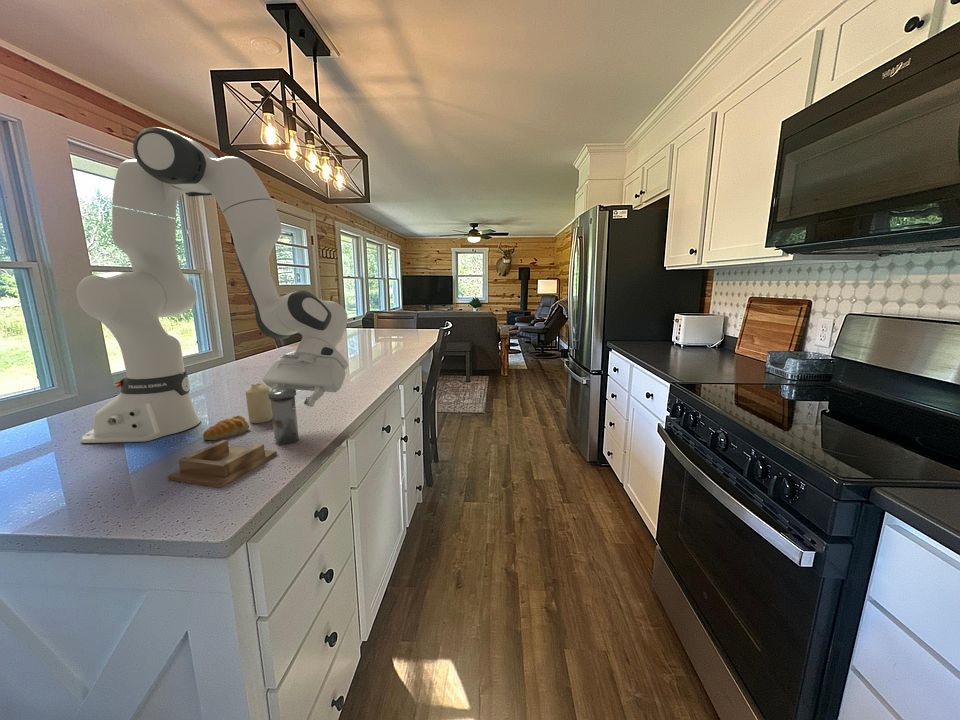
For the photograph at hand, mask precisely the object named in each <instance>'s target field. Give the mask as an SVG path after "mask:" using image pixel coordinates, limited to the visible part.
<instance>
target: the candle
mask: <svg viewBox="0 0 960 720" xmlns="http://www.w3.org/2000/svg"><path fill="white" fill-rule="evenodd" d="M268 392H270V387H269V386H267V385H266V384H265V383H264V382H263V383H256V384H253V383H252V384H250V386H249V387H248V388H247V389H246V390H245V399H246V405H247V407H246V408H247V415H248V422H249V423H251V424H262V423H263V424H264V423H267V422H269V421H272V420H273V418H272V409H271V402H270V399H269V398H268Z"/></svg>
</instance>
